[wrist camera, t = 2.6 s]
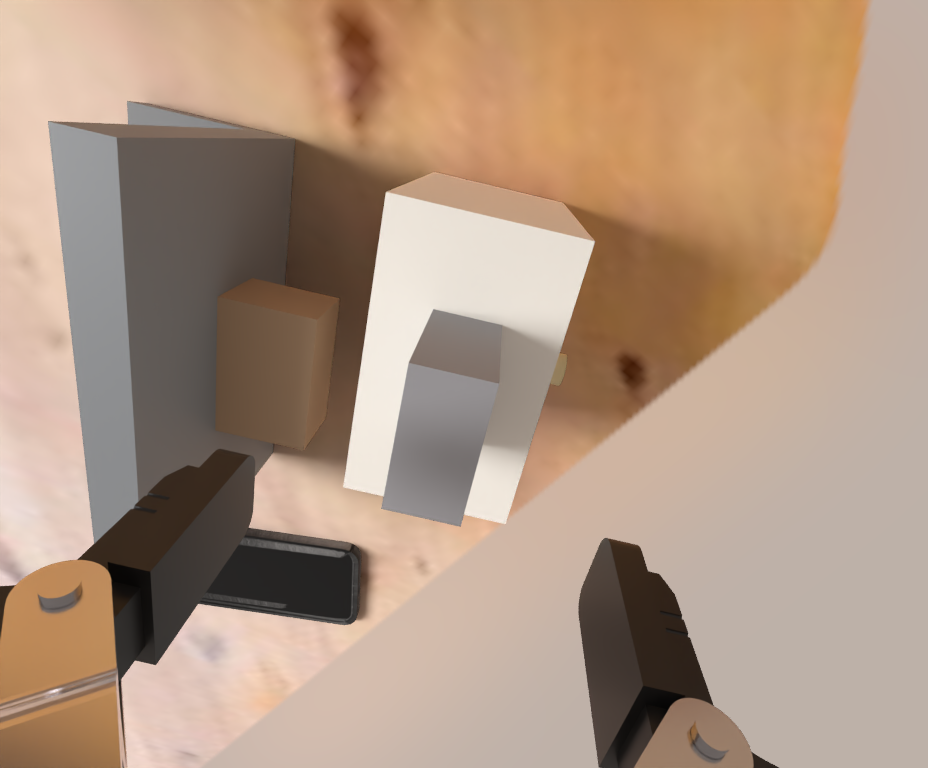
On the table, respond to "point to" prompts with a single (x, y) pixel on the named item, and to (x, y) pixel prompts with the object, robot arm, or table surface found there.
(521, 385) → the cabinet
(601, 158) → the table surface
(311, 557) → the phone
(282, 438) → the wall board
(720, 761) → the robot arm
